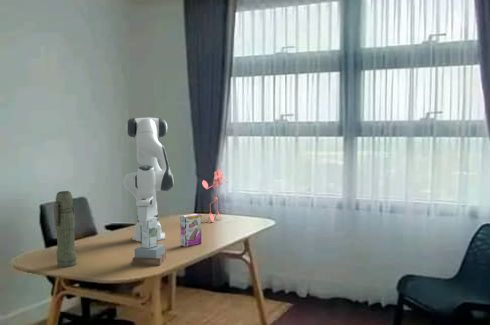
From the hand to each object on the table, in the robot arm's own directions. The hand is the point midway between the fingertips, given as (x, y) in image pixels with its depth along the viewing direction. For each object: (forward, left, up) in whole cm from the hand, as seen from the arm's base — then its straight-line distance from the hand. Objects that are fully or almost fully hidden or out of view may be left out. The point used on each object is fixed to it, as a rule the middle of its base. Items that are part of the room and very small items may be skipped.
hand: (147, 228), depth 264 cm
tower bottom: (0, +1, -17) cm, 17 cm away
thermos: (+6, -38, -16) cm, 42 cm away
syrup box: (+1, +1, -9) cm, 9 cm away
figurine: (-104, +23, -16) cm, 107 cm away
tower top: (0, +1, -13) cm, 13 cm away
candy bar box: (-35, +15, -16) cm, 42 cm away
